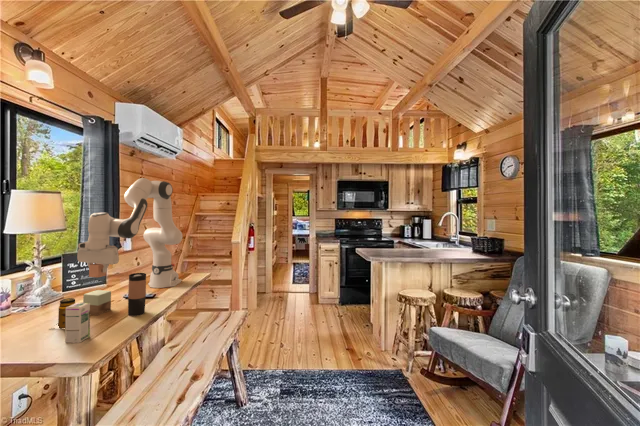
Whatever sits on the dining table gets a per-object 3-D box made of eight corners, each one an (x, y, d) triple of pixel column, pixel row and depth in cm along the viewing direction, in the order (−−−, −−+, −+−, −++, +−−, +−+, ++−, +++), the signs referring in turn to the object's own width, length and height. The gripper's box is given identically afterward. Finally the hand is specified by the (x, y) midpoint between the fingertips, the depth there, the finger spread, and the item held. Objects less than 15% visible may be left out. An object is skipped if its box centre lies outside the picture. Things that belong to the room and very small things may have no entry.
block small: (97, 274, 156) (97, 263, 156) (106, 275, 155) (106, 263, 155) (88, 276, 151) (89, 264, 151) (98, 277, 150) (98, 265, 150)
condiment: (71, 328, 133) (71, 301, 133) (48, 329, 131) (49, 302, 131) (80, 322, 140) (80, 296, 140) (58, 323, 138) (59, 297, 138)
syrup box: (80, 343, 121) (81, 307, 120) (64, 343, 120) (65, 306, 120) (89, 336, 126) (90, 302, 126) (74, 336, 126) (75, 302, 125)
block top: (96, 299, 158) (96, 289, 158) (110, 300, 157) (111, 291, 157) (83, 304, 150) (83, 294, 150) (98, 305, 149) (98, 295, 149)
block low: (96, 308, 158) (97, 299, 158) (110, 310, 157) (110, 300, 157) (83, 314, 150) (83, 304, 150) (97, 315, 149) (97, 305, 149)
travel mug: (142, 310, 159) (144, 272, 159) (147, 314, 154) (148, 275, 153) (125, 313, 154) (127, 274, 153) (129, 317, 148) (130, 277, 148)
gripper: (122, 245, 155) (121, 272, 155) (86, 242, 157) (85, 269, 157) (112, 246, 148) (111, 274, 149) (75, 244, 151) (74, 271, 151)
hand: (97, 271), depth 153 cm, fingers closed on block small, 5 cm apart
